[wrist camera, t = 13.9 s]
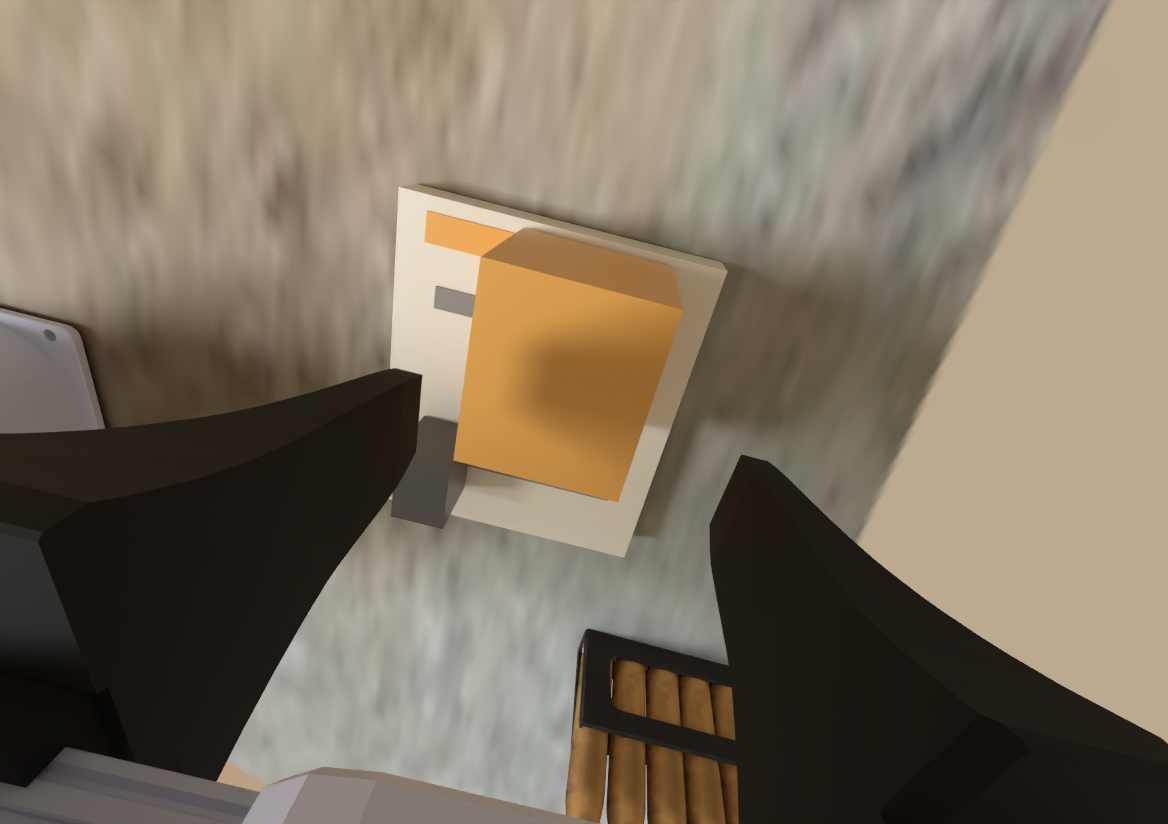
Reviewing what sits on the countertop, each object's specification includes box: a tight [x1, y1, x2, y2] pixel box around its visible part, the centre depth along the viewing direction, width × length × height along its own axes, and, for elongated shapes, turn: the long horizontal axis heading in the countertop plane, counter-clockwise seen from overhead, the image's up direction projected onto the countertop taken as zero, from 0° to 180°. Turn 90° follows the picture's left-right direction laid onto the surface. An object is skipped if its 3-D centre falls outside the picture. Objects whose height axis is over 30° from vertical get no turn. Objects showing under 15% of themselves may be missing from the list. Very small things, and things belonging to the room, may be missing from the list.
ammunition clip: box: [565, 629, 739, 824], centre depth 23 cm, size 11×2×12 cm, turn 76°
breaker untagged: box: [391, 416, 468, 529], centre depth 20 cm, size 2×3×3 cm, turn 167°
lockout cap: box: [453, 227, 683, 502], centre depth 16 cm, size 5×6×5 cm
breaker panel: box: [389, 184, 728, 558], centre depth 20 cm, size 11×13×2 cm
